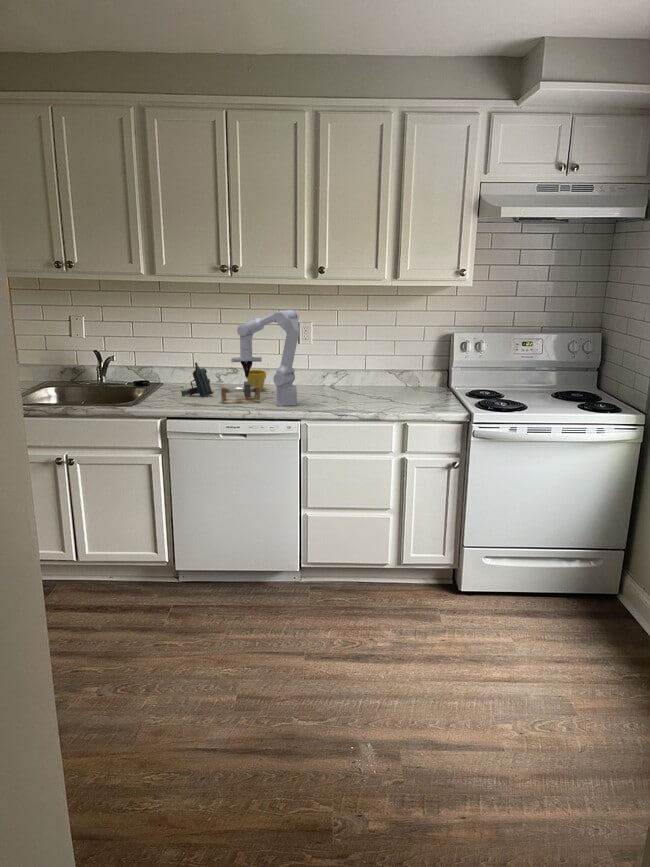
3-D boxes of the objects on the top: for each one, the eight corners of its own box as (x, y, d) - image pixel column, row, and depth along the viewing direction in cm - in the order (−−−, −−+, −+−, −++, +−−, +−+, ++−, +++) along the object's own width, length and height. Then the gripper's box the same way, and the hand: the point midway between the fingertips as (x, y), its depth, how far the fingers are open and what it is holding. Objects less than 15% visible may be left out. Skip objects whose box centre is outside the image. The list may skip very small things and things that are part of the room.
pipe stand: (258, 399, 310) (258, 385, 308) (260, 402, 305) (260, 387, 303) (221, 401, 307) (220, 386, 304) (222, 404, 301) (221, 389, 299)
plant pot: (264, 392, 324) (264, 374, 321) (244, 392, 324) (244, 373, 322) (267, 388, 334) (267, 369, 331) (247, 387, 334) (247, 369, 331)
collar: (249, 394, 309) (249, 381, 307) (250, 397, 303) (250, 384, 301) (244, 394, 308) (243, 381, 306) (245, 397, 302) (245, 384, 300)
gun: (174, 367, 312) (203, 360, 312) (184, 400, 317) (213, 392, 317) (173, 369, 310) (202, 361, 309) (184, 401, 315) (213, 393, 314)
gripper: (260, 347, 313) (260, 374, 317) (230, 347, 310) (231, 375, 314) (261, 349, 306) (262, 377, 310) (231, 350, 303) (232, 378, 307)
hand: (246, 376), depth 312 cm, fingers closed
